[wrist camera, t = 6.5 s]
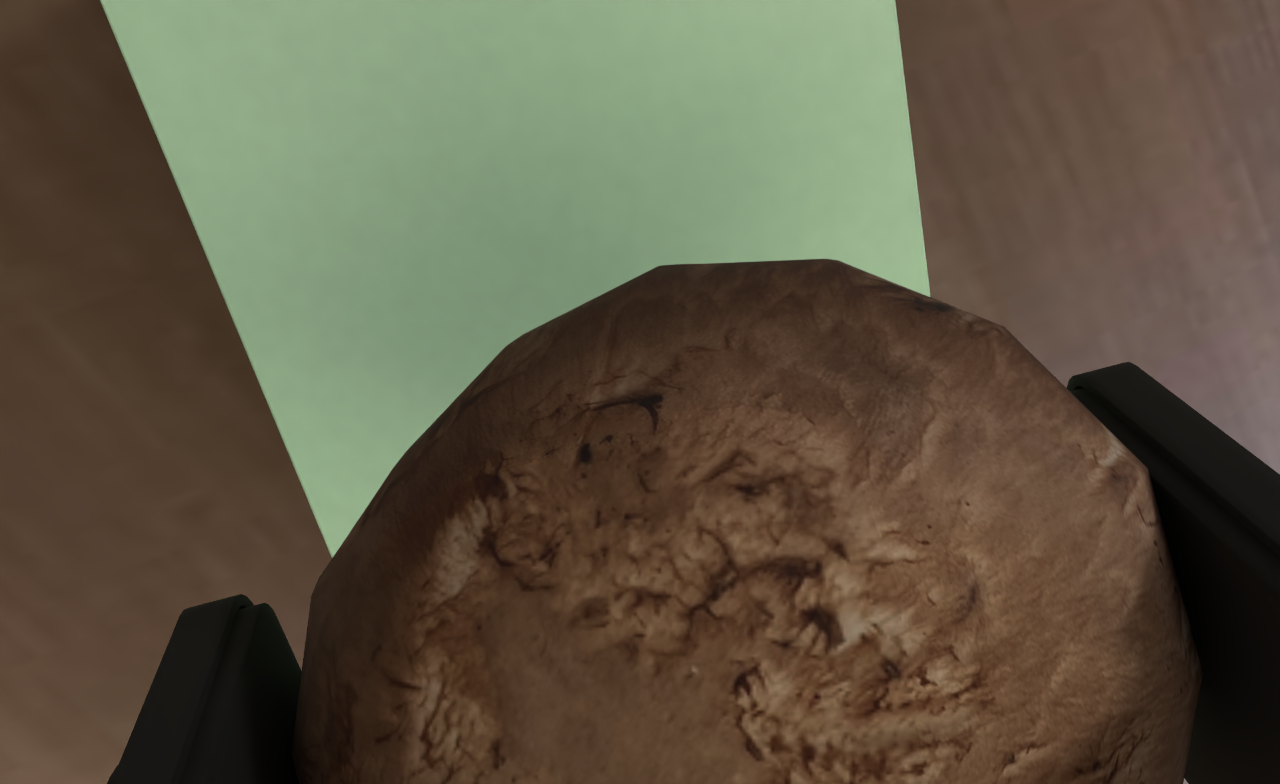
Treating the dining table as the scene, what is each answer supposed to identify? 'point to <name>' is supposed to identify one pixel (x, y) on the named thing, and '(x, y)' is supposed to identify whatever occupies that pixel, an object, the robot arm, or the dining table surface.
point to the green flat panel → (501, 179)
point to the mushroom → (755, 559)
